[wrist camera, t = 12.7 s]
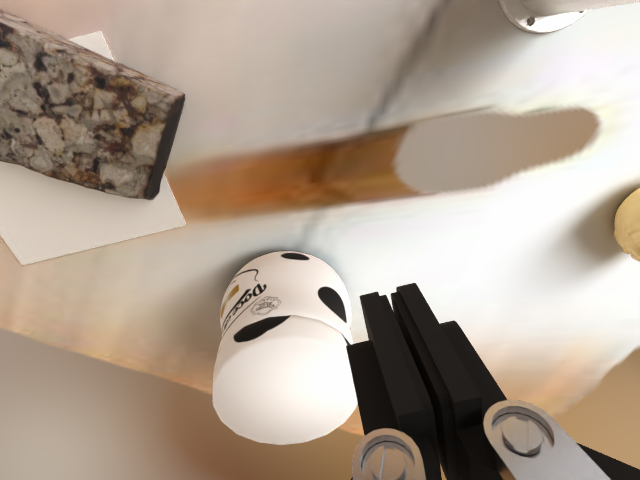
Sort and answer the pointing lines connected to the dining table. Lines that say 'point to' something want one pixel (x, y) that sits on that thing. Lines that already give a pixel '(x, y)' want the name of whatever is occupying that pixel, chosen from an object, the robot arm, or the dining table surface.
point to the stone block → (82, 114)
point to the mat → (75, 207)
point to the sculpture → (629, 225)
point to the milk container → (284, 350)
